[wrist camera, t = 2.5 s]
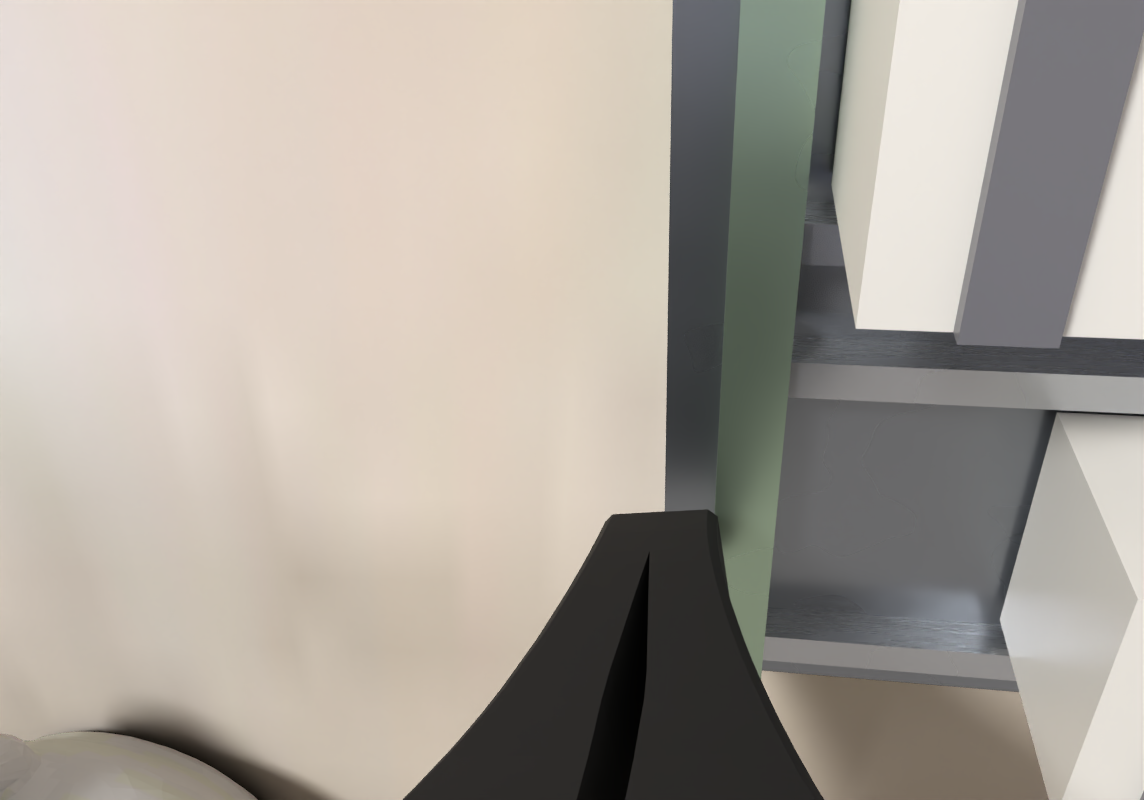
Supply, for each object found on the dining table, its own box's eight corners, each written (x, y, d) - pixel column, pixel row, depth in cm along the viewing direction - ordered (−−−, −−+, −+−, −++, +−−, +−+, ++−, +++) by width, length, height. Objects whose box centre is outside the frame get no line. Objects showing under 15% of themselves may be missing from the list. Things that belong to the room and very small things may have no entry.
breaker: (1152, -198, 9) (1333, -154, 6) (1058, 188, 11) (1164, 351, 8) (871, -189, 9) (923, -144, 7) (831, 185, 11) (858, 341, 9)
